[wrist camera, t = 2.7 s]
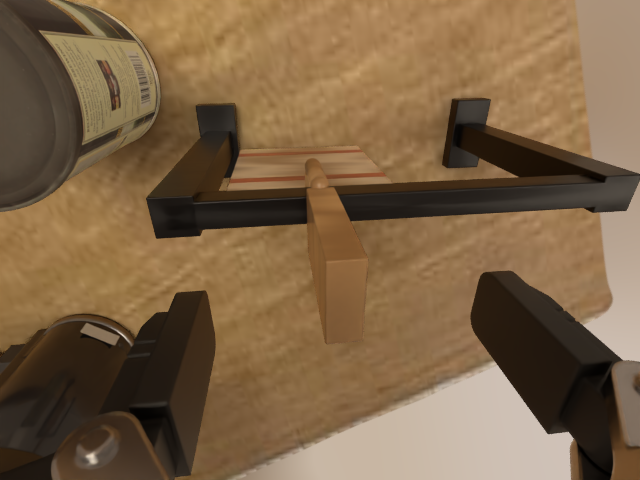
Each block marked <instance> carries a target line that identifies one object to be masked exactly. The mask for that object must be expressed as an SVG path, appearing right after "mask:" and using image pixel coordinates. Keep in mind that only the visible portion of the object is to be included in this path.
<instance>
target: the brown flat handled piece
mask: <svg viewBox="0 0 640 480" xmlns="http://www.w3.org/2000/svg"><path fill="white" fill-rule="evenodd" d="M387 183H392V182H391V181H390V180H389V179H388V177H387V176H386V175H385V174H384V173H383V172H382V171H381V170H380V169H379V168H378V167H377V166H376V165H375V164H374V163H373V162H372V161H371V160H370V159H369V158H368V157H367V156H366V155H365V154H364V152H363V151H362V150H361V149H360V148H359V147H358V146H331V147H302V148H273V149H244V150H240V153H239V156H238V159H237V162H236V165H235V168H234V171H233V173H232V176H231V179H230V182H229V185H228V188H227V191H236V190H258V189H279V188H301V187H311V188H308V189H307V190H306V194H307V232H308V253H309V258H310V264H311V269H312V275H313V280H314V285H315V291H316V296H317V302H318V307H319V312H320V318H321V323H322V329H323V334H324V340H325V343H326V344H335V343H346V342H357V341H363V334H364V319H365V304H366V289H367V274H368V257H367V255H366V253H365V251H364V249H363V247H362V245H361V243H360V241H359V238H358V236H357V234H356V232H355V230H354V228H353V226H352V224H351V222H350V219H349V217H348V215H347V213H346V211H345V209H344V207H343V205H342V203H341V201H340V198H339V196H338V194H337V192H336V190H335V188H334V187H329V186H344V185H366V184H387Z"/></svg>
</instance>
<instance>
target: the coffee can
mask: <svg viewBox="0 0 640 480" xmlns="http://www.w3.org/2000/svg"><path fill="white" fill-rule="evenodd" d="M160 99H161V94H160V83H159V78H158V74H157V71H156V68H155V65H154V63H153V61H152V59H151V57H150V55H149V53H148V51H147V50H146V48H145V47H144V45H143V43H142V42H141V41H140V40H139V38H138V37H137V36H136V35H135V34H134V33H133V32H132V31H131V30H130V29H129V28H128V27H127V26H126V25H124V24H123V23H122V22H121V21H119V20H118V19H116V18H115V17H113V16H112V15H110V14H108V13H107V12H105V11H102V10H100V9H98V8H95V7H93V6H90V5H87V4H82V3H75V2H69V1H66V0H0V212H5V211H12V210H16V209H20V208H24V207H27V206H29V205H32V204H34V203H36V202H38V201H40V200H42V199H44V198H46V197H47V196H49V195H50V194H52V193H53V192H54V191H55V190H57V189H58V188H59V187H60V186H61V185H62V184H63V183H64V182H65V181H67V180H69V179H70V178H72V177H73V176H75V175H77V174H79V173H80V172H82V171H83V170H85V169H87V168H88V167H90V166H92V165H93V164H95V163H97V162H98V161H100V160H101V159H103V158H105V157H107V156H108V155H110V154H111V153H113V152H115V151H116V150H118V149H120V148H121V147H123V146H125V145H126V144H129V143H131V142H133V141H135V140H137V139H139V138H140V137H142V136H143V135H144V134H145V133H146V132H147V131H148V130H149V128H150V127H151V126H152V124H153V123H154V121H155V119H156V116H157V114H158V110H159V106H160Z"/></svg>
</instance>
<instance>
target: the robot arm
mask: <svg viewBox="0 0 640 480" xmlns="http://www.w3.org/2000/svg"><path fill="white" fill-rule="evenodd" d="M471 325H472V328H473V331H474V333H475V334H476V336H477V337H478V339H479V340H480V341H481V343H482V344H483V345H484V347H485V348H486V350H487V351H488V352H489V354H490V355H491V357H492V358H493V359H494V361H495V362H496V363H497V365H498V366H499V368H500V369H501V370H502V372H503V373H504V374H505V376H506V377H507V379H508V380H509V381H510V383H511V384H512V385H513V387H514V388H515V389H516V391H517V392H518V394H519V395H520V396H521V398H522V399H523V401H524V402H525V403H526V405H527V406H528V407H529V409H530V410H531V412H532V413H533V414H534V416H535V417H536V418H537V420H538V421H539V423H540V424H541V425H542V427H543V428H544V429H545V431H546V432H547V434H554V433H562V432H569V433H570V434H571V435H572V437H573V438H574V439H573V441H572V443H571V446H570V464H571V480H640V362H637V361H629V360H628V361H623V360H622V359H621V358H620V357H618V356H617V355H616V354H615V353H614V352H613V351H611V350H610V349H609V348H608V347H607V346H606V345H605V344H604V343H602V342H601V341H600V340H599V339H598V338H597V337H595V336H594V335H593V334H592V333H591V332H590V331H589V330H587V329H586V328H585V327H584V326H583V325H582V324H580V323H579V322H576V321H575V318H574V317H572V316H571V315H570V314H569V313H568V312H567V311H563V308H562V307H561V306H560V305H559V304H557V303H556V302H555V301H554V300H553V299H552V298H551V297H549V296H548V295H546V294H544V293H542V292H540V291H539V290H537V289H535V288H533V287H531V286H529V285H528V284H526V283H525V282H524V281H523V280H522V279H521V278H520V277H519V276H518V275H516V274H515V273H514V272H512V271H496V272H485V273H483V274H482V275H481V276H480V279H479V282H478V286H477V290H476V294H475V298H474V302H473V306H472V310H471ZM214 356H215V332H214V326H213V321H212V315H211V310H210V305H209V299H208V295H207V292H206V291H192V292H178V293H176V294H175V296H174V299H173V301H172V304H171V306H170V308H169V311H168V312H159V313H155V314H154V315H153V316H152V317H151V318H150V319H149V320H148V321H147V322H146V323H145V324H144V325H143V326H142V327H141V329H140V331H139V333H138V335H137V337H136V339H135V340H134V339H133V337H132V336H131V335H130V333H129V332H128V331H127V330H126V329H124V328H123V327H122V326H120V325H119V324H117V323H115V322H113V321H111V320H108V319H106V318H103V317H99V316H93V315H73V316H68V317H65V318H62V319H60V320H58V321H56V322H54V323H53V324H52V325H51V326H50V327H49V328H48V329H45V330H38V331H37V332H36V333H35V335H34V336H33V337H32V338H31V339H30V340H29V342H28V343H27V344H20V345H11V346H10V348H9V349H8V350H7V351H6V352H5V353H4V354H3V355H2V356H1V357H0V480H174V478H175V477H180V476H189V475H191V471H192V466H193V461H194V456H195V451H196V446H197V441H198V436H199V431H200V426H201V421H202V416H203V411H204V406H205V401H206V396H207V391H208V386H209V381H210V376H211V371H212V366H213V361H214Z"/></svg>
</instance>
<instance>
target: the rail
mask: <svg viewBox="0 0 640 480" xmlns="http://www.w3.org/2000/svg"><path fill="white" fill-rule="evenodd" d="M490 101H491V100H490V99H486V98H463V99H453V100H452V105H451V112H450V118H449V125H448V131H447V137H446V144H445V150H444V156H443V163H442V165H443V166H445V167H446V168H463V167H477V165H478V160H479V158H481V159H483V160H485V161H487V162H489V163H491V164H493V165H495V166H497V167H499V168H502V169H504V170H506V171H508V172H510V173H512V174H514V175H516V176H518V177H517V178H495V179H474V180H452V181H431V182H409V183H387V184H366V185H344V186H329V187H334V188H335V190H336V192H337V194H338V196H339V198H340V201H341V203H342V205H343V207H344V209H345V211H346V213H347V215H348V217H349V219H350V221H363V220H380V219H398V218H415V217H433V216H450V215H468V214H486V213H503V212H521V211H538V210H556V209H573V208H584V209H586V210H588V211H590V212H592V213H597V212H614V211H626V210H627V209H628V206H629V204H630V202H631V199H632V197H633V195H634V192H635V190H636V188H637V186H638V183H639V181H640V174H638V173H635V172H632V171H629V170H626V169H623V168H619V167H616V166H613V165H610V164H606V163H604V162H600V161H597V160H594V159H591V158H588V157H585V156H581V155H578V154H575V153H572V152H569V151H566V150H563V149H559V148H556V147H553V146H550V145H547V144H544V143H540V142H537V141H534V140H531V139H528V138H525V137H522V136H518V135H515V134H512V133H509V132H506V131H503V130H499V129H496V128H493V127H490V126H487V125H486V121H487V116H488V111H489V106H490ZM196 112H197V118H198V125H199V131H200V137H201V138H200V139H199V140H198V141H197V142H196V143H195V144H194V145H193V147H192V148H191V149H190V150H189V151H188V152H187V153H186V154H185V155H184V157H183V158H182V159H181V160H180V161H179V162H178V163H177V164H176V165H175V167H174V168H173V169H172V170H171V171H170V172H169V173H168V174H167V175H166V177H165V178H164V179H163V180H162V181H161V182H160V183H159V184H158V185H157V187H156V188H155V189H154V190H153V191H152V192H151V193H150V194H149V195H148V197H147V198H146V200H147V204H148V208H149V212H150V216H151V220H152V224H153V228H154V232H155V236H156V238H157V239H158V238H175V237H192V236H200V235H201V233H202V231H203V230H205V229H223V228H240V227H258V226H275V225H293V224H307V194H306V190H307V189H308V188H311V187H301V188H279V189H258V190H236V191H219V189H220V186H221V184H222V181H223V179H224V178H229V177H231V176H232V173H233V171H234V168H235V165H236V162H237V159H238V156H239V153H240V143H239V134H238V125H237V117H236V108H235V103H223V104H198V105H196Z"/></svg>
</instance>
